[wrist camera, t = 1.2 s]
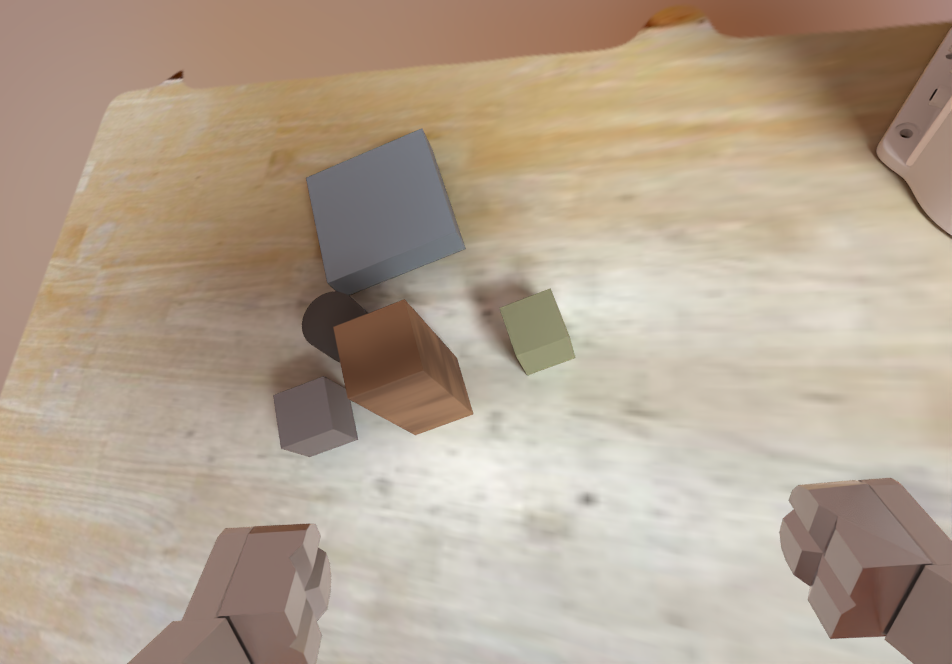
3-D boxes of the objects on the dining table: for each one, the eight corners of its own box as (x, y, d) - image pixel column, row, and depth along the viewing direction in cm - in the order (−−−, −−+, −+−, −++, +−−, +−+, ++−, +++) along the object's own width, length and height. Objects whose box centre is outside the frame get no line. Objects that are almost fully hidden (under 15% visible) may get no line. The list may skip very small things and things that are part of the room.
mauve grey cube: (302, 408, 48) (273, 395, 44) (348, 390, 48) (323, 376, 44) (310, 457, 47) (280, 448, 43) (358, 439, 46) (333, 429, 42)
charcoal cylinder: (342, 303, 51) (320, 284, 48) (387, 320, 49) (368, 302, 46) (315, 352, 50) (291, 336, 46) (360, 371, 48) (339, 357, 45)
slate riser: (321, 195, 56) (305, 177, 54) (432, 149, 55) (422, 128, 52) (343, 297, 51) (327, 283, 49) (465, 248, 50) (456, 231, 47)
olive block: (512, 331, 46) (499, 307, 42) (558, 314, 46) (550, 288, 41) (527, 375, 45) (515, 355, 40) (575, 358, 44) (569, 336, 40)
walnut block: (401, 378, 47) (333, 327, 36) (456, 357, 46) (404, 299, 36) (415, 435, 45) (347, 398, 34) (473, 414, 44) (423, 370, 34)
